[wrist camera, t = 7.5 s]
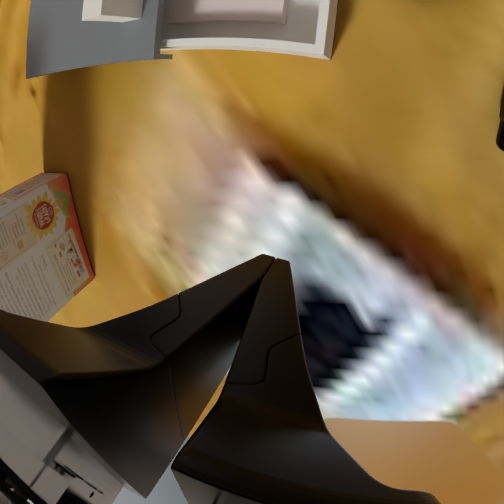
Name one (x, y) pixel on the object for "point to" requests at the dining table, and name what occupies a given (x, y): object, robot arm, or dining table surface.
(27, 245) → the cracker box
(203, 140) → the dining table surface
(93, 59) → the lid
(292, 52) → the tray
